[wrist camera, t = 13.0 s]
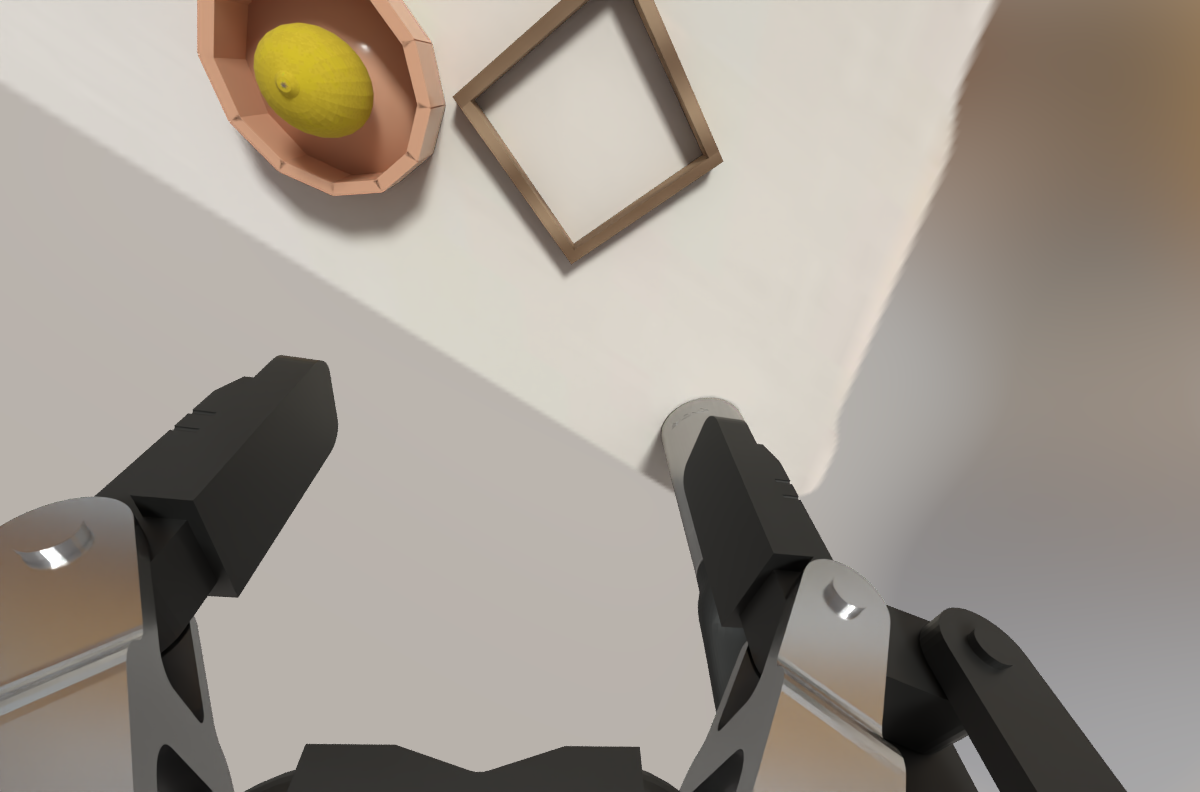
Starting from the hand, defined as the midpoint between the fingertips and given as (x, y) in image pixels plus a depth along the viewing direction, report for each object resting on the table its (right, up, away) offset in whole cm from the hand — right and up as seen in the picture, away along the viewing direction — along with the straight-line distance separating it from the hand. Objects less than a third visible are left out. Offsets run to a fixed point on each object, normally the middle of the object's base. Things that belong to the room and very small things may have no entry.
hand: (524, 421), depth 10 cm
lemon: (-15, +21, +20) cm, 33 cm away
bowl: (-15, +22, +20) cm, 34 cm away
